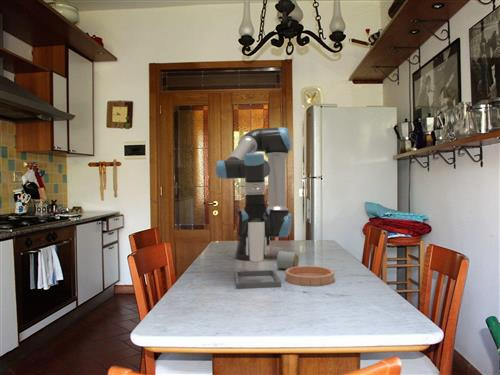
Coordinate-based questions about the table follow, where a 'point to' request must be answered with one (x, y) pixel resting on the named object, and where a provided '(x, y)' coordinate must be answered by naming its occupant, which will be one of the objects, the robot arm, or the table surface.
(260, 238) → the drinking glass
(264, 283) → the tray
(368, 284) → the table surface
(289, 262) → the ceramic mug
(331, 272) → the bowl
